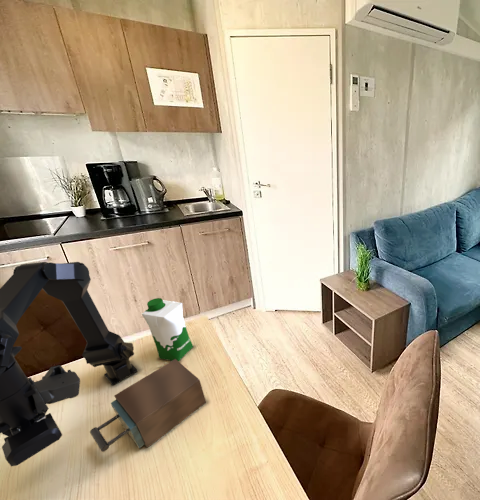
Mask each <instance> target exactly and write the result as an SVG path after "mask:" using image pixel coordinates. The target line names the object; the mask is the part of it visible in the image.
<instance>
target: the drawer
mask: <svg viewBox="0 0 480 500" xmlns="http://www.w3.org/2000/svg"><path fill="white" fill-rule="evenodd" d="M110 405H111V408H112V409H113V412H114V413H115V416H113V417H111V418H110V419H108V420H107V421H104V423H102V424H100V425H99V426H97V427H96V426H94V427H92V428H91V429H90V431H89V433H90V435H91V437H92V439H93V440H94V443H96V445H97V447H98V448H99V450H100V452H101V453H102V452H103V453H104V452H106V451H108V449H109V448H110V446H111V445H113V444H114V443H115V442H117V441H118V440H120V439H121V438H123V437H124V436H126V435H127V434H128V435H129V436H130V438H131V439H132V441H133V442H134V443H135V445H136V446H137V447H138V449H140V448H142V447H143V446H145V443H144V441H143V439H142V436H141V434H140V432H139V430H138V428H137V426H136V424H135V423H134V422H133V420H132V419H131V418H130V416H129V415H128V414H127V413H126V411H125V410H124V409H123V407H122V406H121V405H120V404H119V402H118V401H117V400H116V399H115V400H113V401H112V402H110ZM116 420H118V421H119V423H120V425H122V427H123V429H124V431H122V432H121V433H119V434H118V435H116V436H115V437H114V438H112V439H111V440H109V441H107V439H105V437H104V436H103V434H102V432H101V430H102V429H104V428H105V427H107V426H109V425H110V424H111V423H113V422H114V421H116Z"/></svg>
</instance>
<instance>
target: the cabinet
mask: <svg viewBox="0 0 480 500" xmlns="http://www.w3.org/2000/svg"><path fill="white" fill-rule="evenodd" d="M113 397H114V399H115V400H117V401H118V402H119V404H120V405H121V406H122V407H123V409H124V410H125V411H126V413H127V414H128V415H129V416H130V418H131V419H132V420H133V422H134V423H135V424H136V426H137V428H138V430H139V432H140V434H141V436H142V439H143V441H144V443H145V444H144V446H145V447H146V448H149V447H150V446H152V445H153V444H154V443H156V442H157V441H158V440H159V439H161V438H162V437H164V436H165V435H166V434H168V433H169V432H170V431H171V430H173V429H174V428H175V427H176V426H178V424H180V423H182V422H183V421H184V420H185V419H187V418H188V417H189V416H190V415H192V414H193V413H194V412H196V411H197V410H199V408H201V407H202V406H204V405H205V404H206V403H207V400H206V397H205V394H204V389H203V386H202V383H201V379H200V378H199V377H197V376H196V375H195V374H193V373H192V371H190V370H189V369H188V368H187V367H185V366H184V365H183V364H182V363H181V362H180V361H179V362H178V361H177V360H176V359H174V360H172V361H169V362H167V363H166V364H164V365H162V366H161V367H158V369H156V370H154V371H152V372H151V373H149V374H147V375H146V376H145V377H143V378H141V379H140V380H138V381H136V382H134V383H133V384H131V385H130V386H127V387H126V388H124V389H123V390H121V391H120V392H117V393H116V394H114V396H113Z"/></svg>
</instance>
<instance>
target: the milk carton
mask: <svg viewBox="0 0 480 500" xmlns="http://www.w3.org/2000/svg"><path fill="white" fill-rule="evenodd" d="M146 305H147V309H146V310H145V311H144V312H142V313H141V315H142V317H143V319H144V320H145V322H146V324H147V327H148V328H149V331H150V333H151V336H152V339H153V342H154V344H155V347H156V351H157V355H158V358H159V359H160V360H165V361H169V362H171V361H172V360H174V359H176V360H177V361H178V362H180V361H181V360H182V359H183V358H184V357H185V356H186V355H187V354H188V353H189V352H190V351H191V350H192V349H193V348H194V345H193V342H192V340H191V337H190V335H189V333H188V332H189V331H188V329H187V326H186V321H185V319H184V315H183V314H184V313H183V312H184V311H183V302H178V301H176V300H175V301H174V300H166V299H163V298H161V297H156V298H152V299H150V300H149V301H147V302H146Z"/></svg>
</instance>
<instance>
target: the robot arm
mask: <svg viewBox="0 0 480 500" xmlns="http://www.w3.org/2000/svg"><path fill="white" fill-rule="evenodd" d="M12 272H13V273H12V274H11V276H10V277H9V278H8V279H7V280H6V282H4V284H3V285H2V286H1V287H0V434H2V435H3V436H6V437H4V438H3V441H4V443H3V444H2V446H1V449H2V452H3V455H4V459H5V460H6V462H7V463H8V464H9V466H10V467H17V466H18V465H21V464H22V463H24V462H25V461H27V460H28V459H30V458H31V457H34V456H35V455H37V454H38V453H40V452H41V451H43V450H45V449H46V448H48V447H49V446H51V445H53V444H54V443H55V442H57V441H59V440H60V439H61V438H62V436H63V433H62V431H61V430H60V428H59V426H58V423H57V422H56V420H55V419H54V417H53V416H52V413H51V412H49V413H47V412H48V410H49V407H48V405H52V404H55V403H59V402H61V401H65V400H67V399H73V398H76V397H78V396H79V395H80V387H81V386H80V384H81V378H80V377H79V375H78V374H77V372H75V371H73V370H71V369H68V370H67V371H66V370H65V368H63V366H62V365H61V364H58V365H53V366H51V367H49V368H48V370H47V371H46V373H45V374H44V376H42V377H41V379H39V380H36V381H35V380H33V379H32V377H28V376H26V374H25V371H24V370H23V369H22V368H21V366H20V364H19V363H18V361H17V360H16V358H15V357H16V356H17V355H18V354H19V353H20V352H21V350H22V349H23V347H22V346H21V345H19V346H16V345H15V343H16V341H17V340H18V338H19V335H20V333H19V332H20V331H19V330H18V327H17V325H18V323H19V321H20V319H21V318H22V316H24V314H25V313H26V311H27V309H29V308H30V306H31V304H32V303H33V302H34V300H35V299H36V298H37V296H38V295H39V294H40V292H41V291H42V290H43V291H44V292H45V293H46V295H48V296H50V297H53V298H55V299H57V300H59V301H61V302H62V303H63V305H64V306H65V308H66V310H67V311H68V313H69V315H70V316H71V318H72V320H73V321H74V323H75V325H76V326H77V328H78V330H79V332H80V333H81V335H82V337H83V338H84V340H85V342H86V345H85V346H84V347H85V348H84V350H83V352H82V355H81V356H82V358H84V359H85V361H86V365H87V364H89V365H91V366H92V367H93V368H96V367H100V366H103V368H104V370H105V373H104V377H105V379H107V381H108V382H109V384H110V385H111V386H115V385H116V384H118V383H120V382H121V381H123V380H125V379H127V378H128V377H130V376H132V375H134V374H136V373H137V372H138V368H136V366H134V364H133V363H132V362H131V361H130V358H132V357H133V356H134V355H135V352H134V349H135V348H134V344H133V343H132V342H127V341H124V340H123V338H122V337H121V335H120V334H118V333H115V332H112V331H111V330H109V329H108V327H107V324H106V323H105V321H104V319H103V317H102V315H101V314H100V312H99V310H98V307H97V306H96V305H95V302H94V299H93V298H92V297H91V294H90V292H89V290H88V289H89V286H90V283H91V280H92V278H91V276H90V270H89V268H88V267H87V266H86V264H85V263H83V262H80V261H73V262H72V261H70V262H62V263H59V262H58V263H56V262H47V261H38V262H30V263H29V262H28V263H22V264H20V265H16V267H15V268H14V269H13V271H12ZM14 345H15V346H14Z"/></svg>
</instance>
